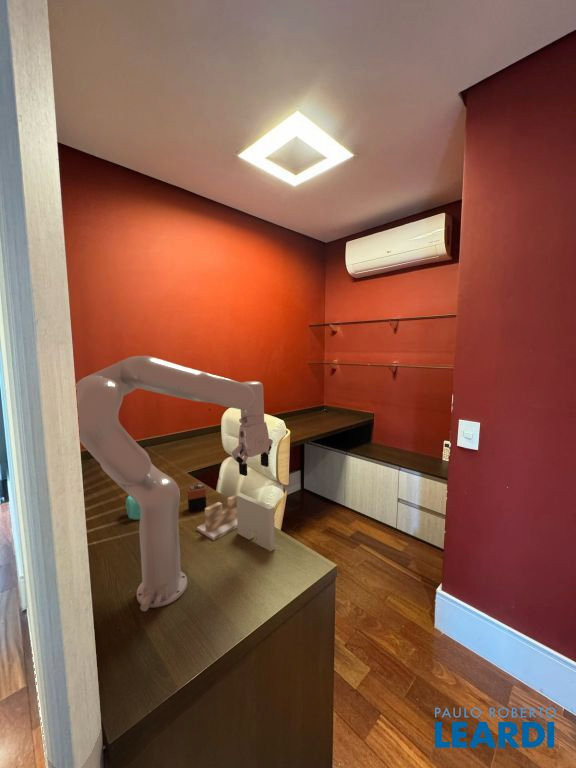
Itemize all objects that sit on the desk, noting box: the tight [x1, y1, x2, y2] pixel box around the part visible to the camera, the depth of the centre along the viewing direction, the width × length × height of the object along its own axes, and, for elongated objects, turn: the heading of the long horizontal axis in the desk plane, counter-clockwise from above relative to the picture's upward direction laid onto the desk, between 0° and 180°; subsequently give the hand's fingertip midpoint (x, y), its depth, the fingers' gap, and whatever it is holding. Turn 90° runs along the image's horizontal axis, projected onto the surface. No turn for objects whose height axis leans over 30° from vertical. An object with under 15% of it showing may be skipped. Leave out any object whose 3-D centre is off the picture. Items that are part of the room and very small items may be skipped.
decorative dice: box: [125, 494, 141, 521], centre depth 123 cm, size 8×8×8 cm
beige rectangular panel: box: [237, 492, 276, 552], centre depth 104 cm, size 2×16×14 cm, turn 50°
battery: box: [186, 483, 207, 514], centre depth 126 cm, size 4×7×10 cm, turn 113°
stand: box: [196, 492, 241, 541], centre depth 115 cm, size 18×10×9 cm, turn 140°
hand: (254, 470), depth 103 cm, fingers open, 9 cm apart
